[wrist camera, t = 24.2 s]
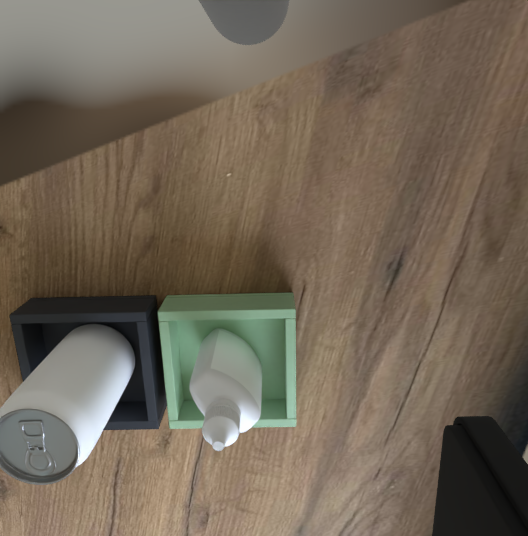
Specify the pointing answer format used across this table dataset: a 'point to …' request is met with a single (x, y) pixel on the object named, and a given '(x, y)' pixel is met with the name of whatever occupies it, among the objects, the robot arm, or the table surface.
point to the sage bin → (246, 327)
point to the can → (64, 405)
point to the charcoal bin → (112, 315)
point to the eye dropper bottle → (226, 387)
